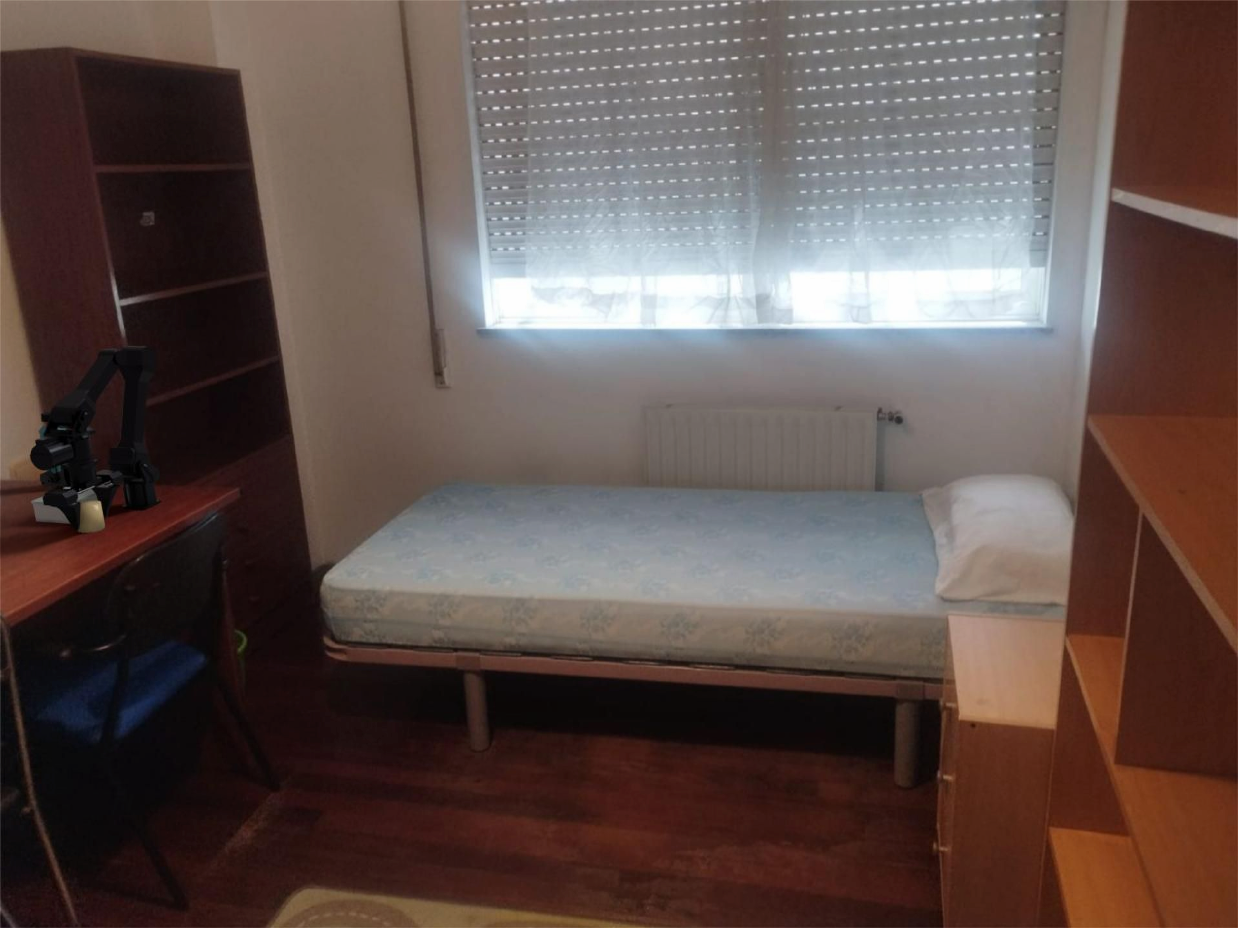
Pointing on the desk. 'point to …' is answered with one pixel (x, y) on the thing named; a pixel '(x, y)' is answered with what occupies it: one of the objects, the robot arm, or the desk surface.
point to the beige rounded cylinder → (91, 517)
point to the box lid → (80, 498)
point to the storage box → (52, 513)
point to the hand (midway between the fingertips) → (90, 523)
